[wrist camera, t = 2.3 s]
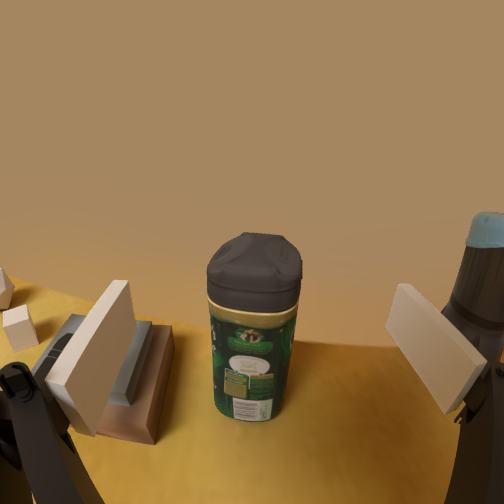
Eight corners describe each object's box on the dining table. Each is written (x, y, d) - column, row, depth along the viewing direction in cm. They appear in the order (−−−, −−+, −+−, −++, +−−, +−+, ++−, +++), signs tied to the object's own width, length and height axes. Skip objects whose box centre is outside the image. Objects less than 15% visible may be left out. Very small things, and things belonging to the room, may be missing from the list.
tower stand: (174, 348, 37) (169, 313, 34) (154, 445, 22) (140, 413, 20) (77, 338, 35) (67, 305, 33) (33, 414, 21) (11, 379, 18)
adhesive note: (35, 329, 35) (26, 304, 33) (39, 344, 32) (28, 318, 30) (12, 336, 32) (2, 311, 30) (14, 353, 29) (2, 327, 27)
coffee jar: (225, 362, 35) (225, 223, 28) (286, 369, 34) (305, 230, 27) (206, 418, 26) (191, 260, 19) (279, 429, 25) (308, 272, 18)
